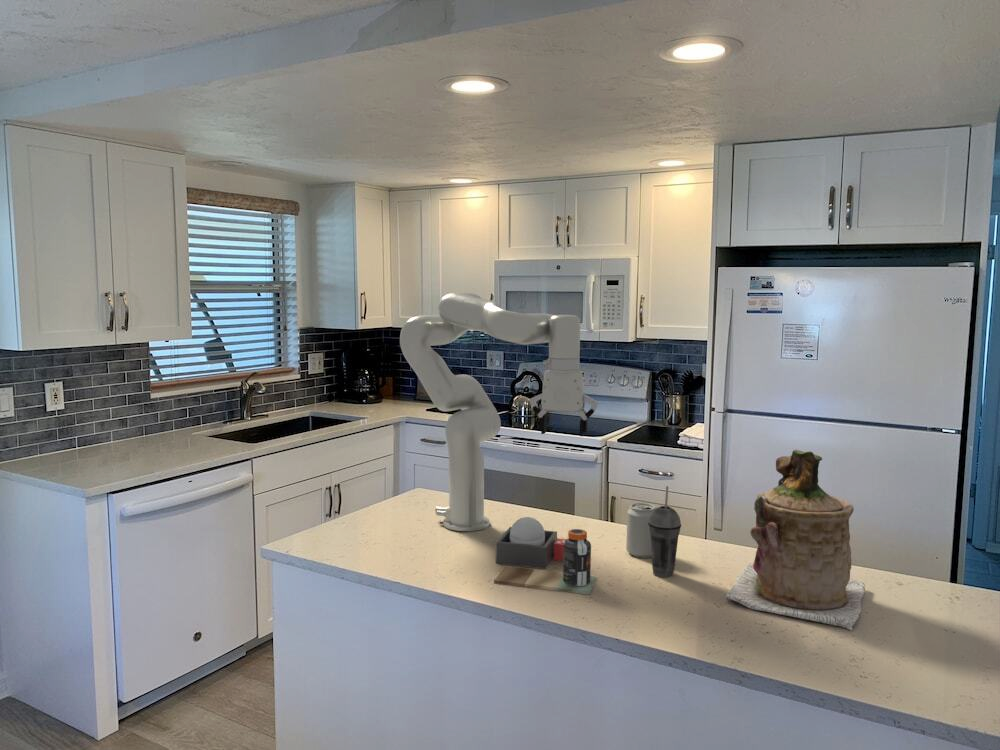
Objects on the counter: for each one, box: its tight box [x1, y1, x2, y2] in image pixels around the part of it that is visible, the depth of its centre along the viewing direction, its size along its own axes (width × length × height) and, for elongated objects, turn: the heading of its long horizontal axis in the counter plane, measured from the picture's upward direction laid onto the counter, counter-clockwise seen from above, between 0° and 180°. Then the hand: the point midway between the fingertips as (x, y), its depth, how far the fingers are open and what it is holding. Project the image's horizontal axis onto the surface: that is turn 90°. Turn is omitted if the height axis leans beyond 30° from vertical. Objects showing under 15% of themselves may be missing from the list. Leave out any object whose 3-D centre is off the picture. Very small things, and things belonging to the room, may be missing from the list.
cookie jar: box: [726, 449, 866, 631], centre depth 152 cm, size 25×25×32 cm
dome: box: [510, 516, 545, 546], centre depth 176 cm, size 8×8×8 cm
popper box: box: [495, 526, 568, 570], centre depth 175 cm, size 16×12×5 cm
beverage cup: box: [648, 485, 682, 579], centre depth 165 cm, size 7×7×20 cm
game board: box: [493, 565, 597, 595], centre depth 162 cm, size 21×9×1 cm, turn 73°
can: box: [625, 502, 657, 559], centre depth 179 cm, size 8×8×12 cm
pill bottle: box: [562, 528, 592, 586], centre depth 159 cm, size 6×6×11 cm
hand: (562, 434), depth 182 cm, fingers open, 9 cm apart
